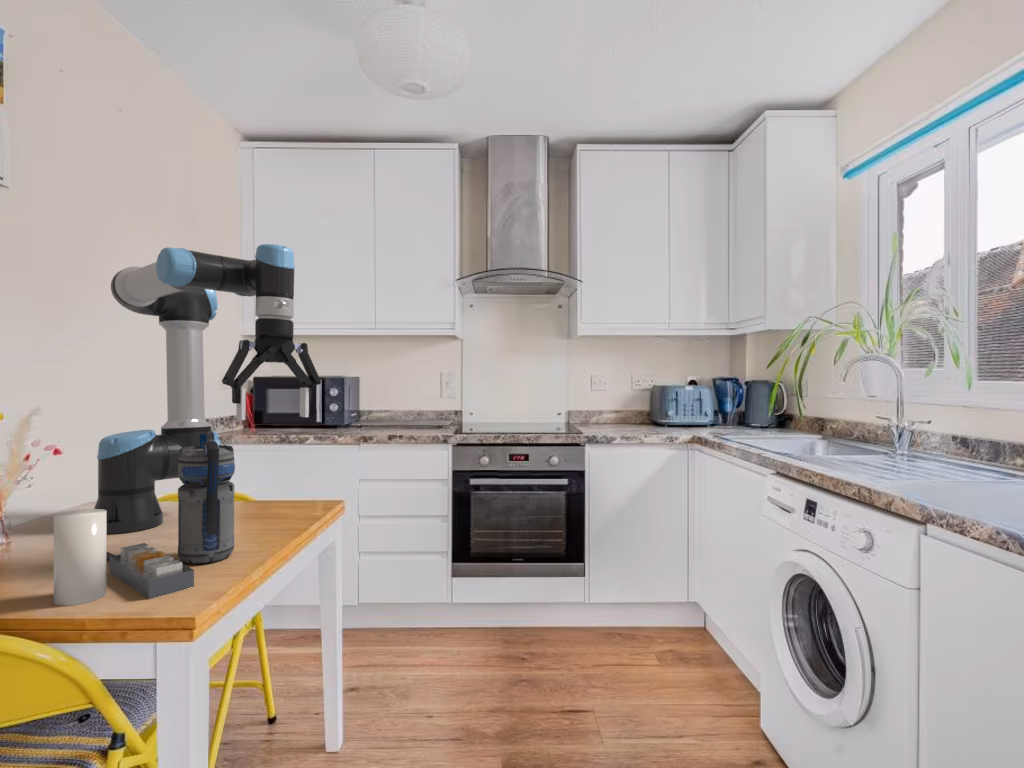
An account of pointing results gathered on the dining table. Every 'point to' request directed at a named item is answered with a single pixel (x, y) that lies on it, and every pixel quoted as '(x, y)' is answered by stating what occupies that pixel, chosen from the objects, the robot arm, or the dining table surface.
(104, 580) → the white glossy cylinder
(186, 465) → the beverage bottle
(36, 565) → the dining table surface
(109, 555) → the dark gray rod
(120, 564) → the grey long block
